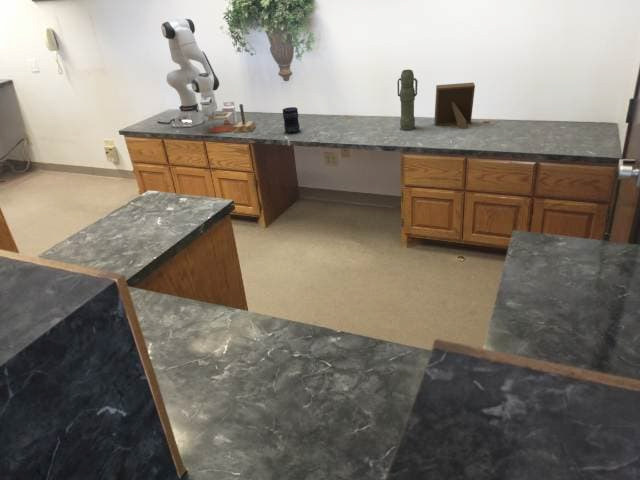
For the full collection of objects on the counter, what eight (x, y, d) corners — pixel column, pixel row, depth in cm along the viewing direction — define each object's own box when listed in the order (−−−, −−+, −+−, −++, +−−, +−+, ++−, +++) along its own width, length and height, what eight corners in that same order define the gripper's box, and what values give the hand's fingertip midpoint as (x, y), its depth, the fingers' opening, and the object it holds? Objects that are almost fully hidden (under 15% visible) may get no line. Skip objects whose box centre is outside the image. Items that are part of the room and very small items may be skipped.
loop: (208, 120, 344) (207, 118, 343) (214, 115, 356) (213, 113, 355) (227, 119, 342) (227, 116, 341) (232, 114, 354) (232, 112, 353)
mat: (208, 132, 348) (208, 132, 348) (214, 127, 360) (214, 126, 360) (231, 131, 346) (231, 131, 346) (236, 125, 358) (236, 125, 358)
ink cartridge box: (224, 124, 364) (220, 103, 357) (226, 122, 369) (222, 102, 362) (236, 123, 363) (232, 103, 356) (237, 122, 367) (234, 101, 361)
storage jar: (291, 129, 338) (289, 106, 331) (303, 130, 332) (300, 107, 325) (281, 133, 331) (279, 110, 324) (293, 134, 326) (290, 111, 319)
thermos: (416, 130, 311) (416, 71, 295) (397, 130, 314) (396, 72, 298) (417, 126, 319) (418, 68, 302) (399, 126, 322) (398, 69, 305)
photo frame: (434, 123, 320) (435, 83, 308) (469, 121, 318) (471, 80, 306) (437, 130, 307) (438, 88, 295) (474, 128, 305) (476, 85, 293)
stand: (234, 132, 343) (229, 106, 335) (238, 127, 353) (234, 102, 345) (251, 131, 341) (247, 105, 333) (255, 126, 352) (251, 101, 343)
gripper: (208, 95, 347) (212, 115, 354) (199, 102, 329) (203, 123, 336) (217, 95, 346) (221, 115, 353) (208, 102, 328) (212, 123, 335)
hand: (212, 119), depth 344 cm, fingers closed on loop, 2 cm apart
